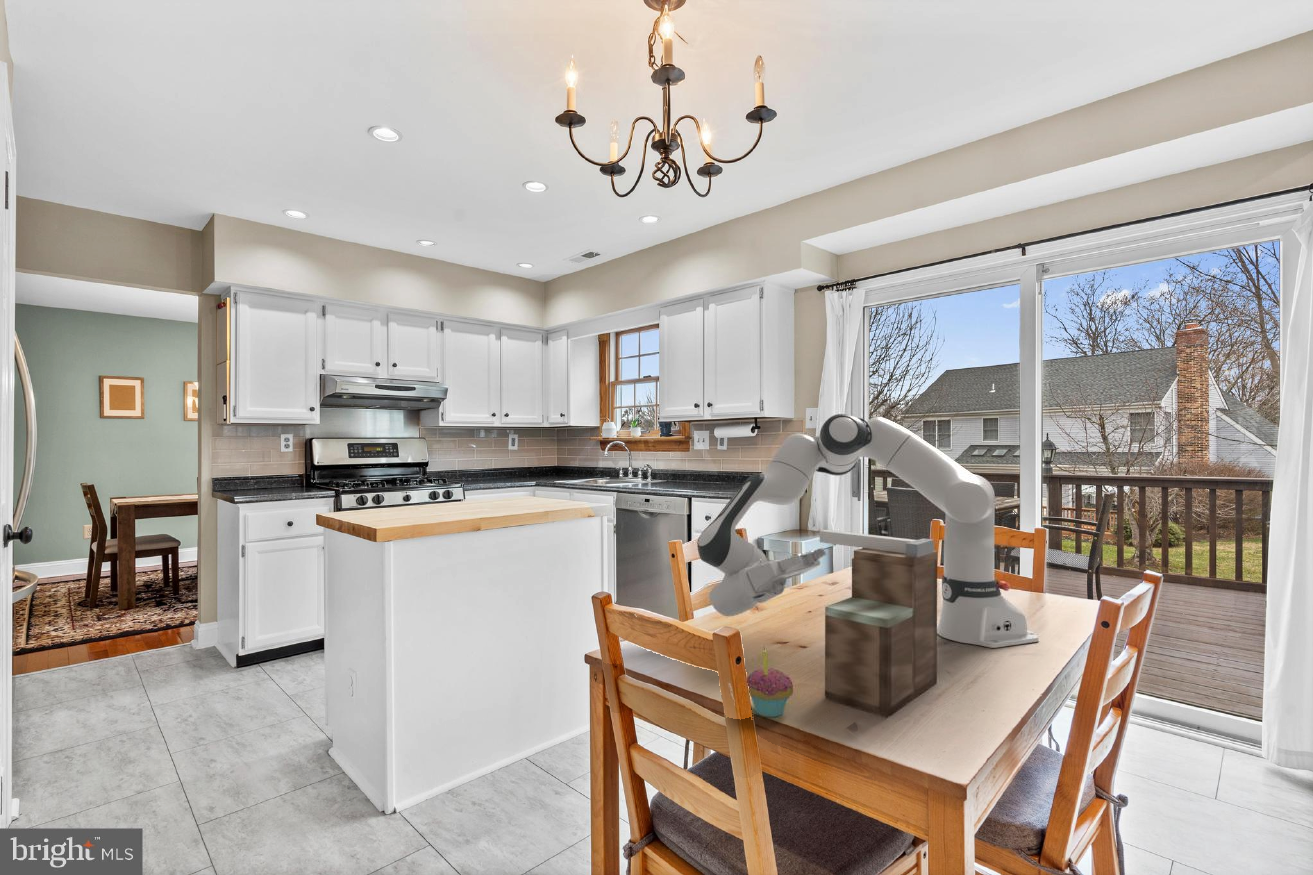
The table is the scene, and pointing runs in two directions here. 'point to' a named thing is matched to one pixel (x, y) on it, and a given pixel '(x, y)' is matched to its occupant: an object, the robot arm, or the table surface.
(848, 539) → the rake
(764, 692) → the cupcake
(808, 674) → the table surface
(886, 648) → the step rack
